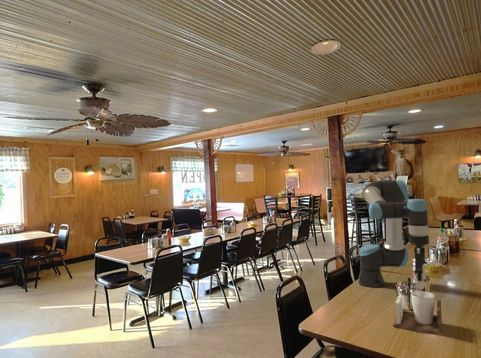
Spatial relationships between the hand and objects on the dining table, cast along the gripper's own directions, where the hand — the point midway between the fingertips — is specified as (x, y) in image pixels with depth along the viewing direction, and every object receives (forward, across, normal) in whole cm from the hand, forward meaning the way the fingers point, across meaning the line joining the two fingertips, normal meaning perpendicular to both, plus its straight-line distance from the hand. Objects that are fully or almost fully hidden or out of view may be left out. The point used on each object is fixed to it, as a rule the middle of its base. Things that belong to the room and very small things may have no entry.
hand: (421, 283), depth 142 cm
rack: (+19, 0, +2) cm, 19 cm away
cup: (+18, +2, 0) cm, 18 cm away
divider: (+17, 0, +9) cm, 20 cm away
